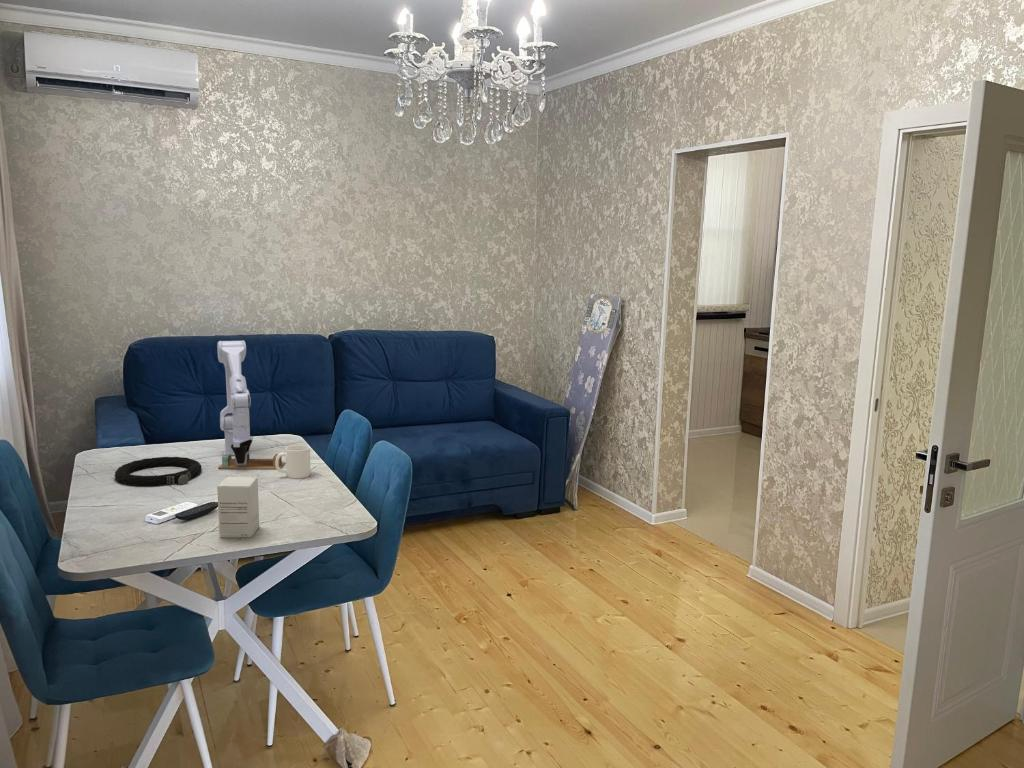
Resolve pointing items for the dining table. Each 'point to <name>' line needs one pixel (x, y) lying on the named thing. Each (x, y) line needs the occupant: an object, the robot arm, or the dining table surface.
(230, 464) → the rail
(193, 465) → the cable lock
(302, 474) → the cup
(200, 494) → the dining table surface
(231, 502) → the supplement box
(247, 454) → the keeper
